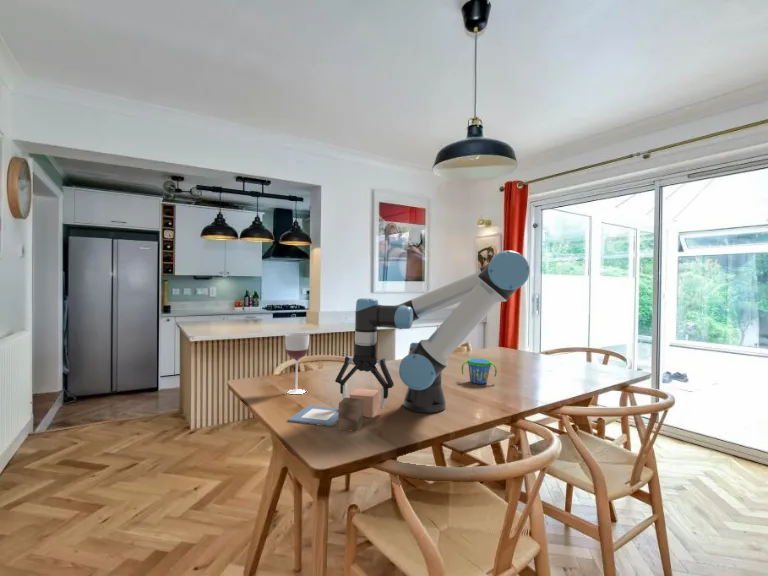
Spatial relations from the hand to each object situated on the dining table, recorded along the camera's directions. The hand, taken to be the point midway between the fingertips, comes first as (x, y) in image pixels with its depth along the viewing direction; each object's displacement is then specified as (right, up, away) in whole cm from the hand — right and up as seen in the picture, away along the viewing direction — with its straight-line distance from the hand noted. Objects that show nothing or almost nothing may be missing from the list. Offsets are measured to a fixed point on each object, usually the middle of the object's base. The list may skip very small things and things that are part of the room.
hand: (363, 405), depth 132 cm
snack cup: (+50, -3, +44) cm, 67 cm away
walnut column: (-3, -3, -14) cm, 14 cm away
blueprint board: (-14, -2, -5) cm, 15 cm away
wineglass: (-28, -2, +22) cm, 36 cm away
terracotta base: (0, -3, 0) cm, 3 cm away
